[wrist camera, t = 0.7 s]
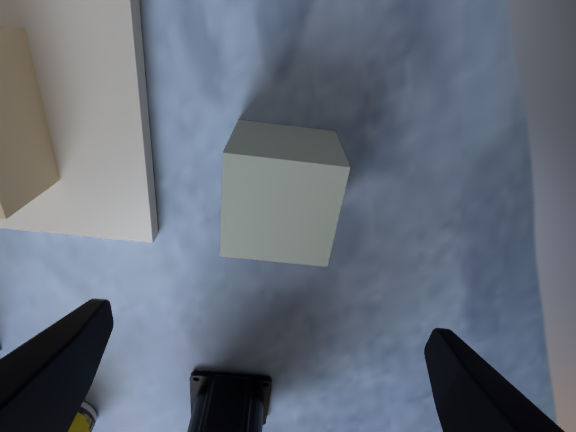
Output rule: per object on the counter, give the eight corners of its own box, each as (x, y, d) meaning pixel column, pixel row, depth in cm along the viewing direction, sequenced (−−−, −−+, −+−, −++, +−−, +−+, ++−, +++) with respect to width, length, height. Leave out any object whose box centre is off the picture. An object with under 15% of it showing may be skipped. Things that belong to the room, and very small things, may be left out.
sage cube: (319, 213, 20) (327, 266, 16) (234, 204, 20) (220, 256, 16) (335, 130, 18) (350, 167, 13) (238, 119, 17) (222, 152, 13)
